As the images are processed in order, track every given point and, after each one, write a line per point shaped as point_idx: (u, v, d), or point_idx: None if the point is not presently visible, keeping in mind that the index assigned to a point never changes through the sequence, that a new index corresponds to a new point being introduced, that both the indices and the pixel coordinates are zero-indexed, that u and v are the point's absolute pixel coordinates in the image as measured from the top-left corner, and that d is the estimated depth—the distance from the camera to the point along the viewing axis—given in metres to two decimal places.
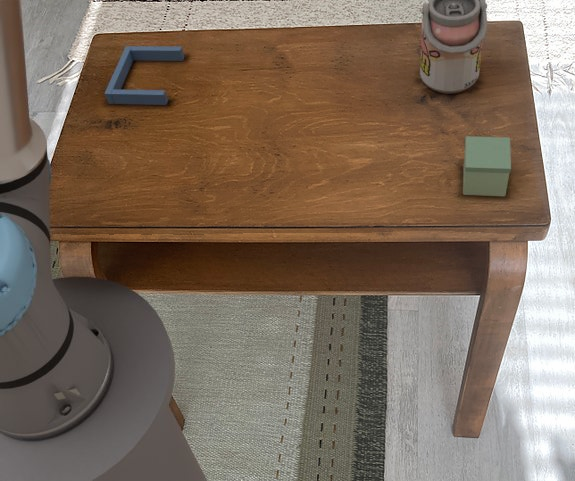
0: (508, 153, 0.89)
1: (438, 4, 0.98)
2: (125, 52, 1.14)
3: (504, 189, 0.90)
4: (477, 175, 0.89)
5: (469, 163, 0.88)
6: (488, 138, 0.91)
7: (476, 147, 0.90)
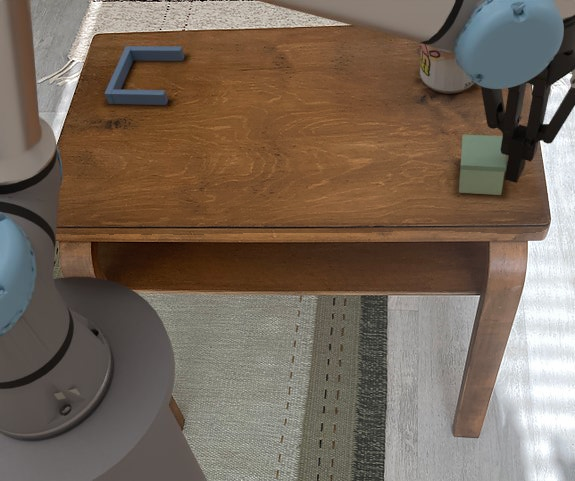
0: None
1: None
2: (125, 52, 1.14)
3: (500, 188, 0.90)
4: (472, 173, 0.89)
5: (465, 161, 0.89)
6: (485, 136, 0.91)
7: (472, 145, 0.90)
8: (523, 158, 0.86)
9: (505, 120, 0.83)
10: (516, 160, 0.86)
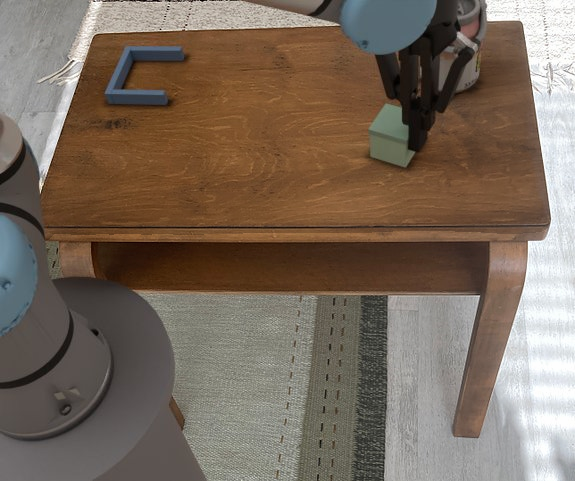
0: None
1: None
2: (125, 52, 1.14)
3: (404, 160, 0.95)
4: (379, 139, 0.94)
5: (373, 126, 0.94)
6: None
7: (388, 114, 0.95)
8: (422, 128, 0.91)
9: (401, 91, 0.87)
10: (415, 130, 0.91)
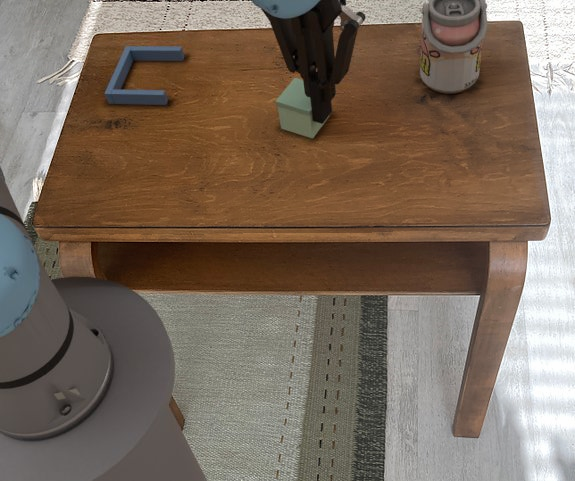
0: None
1: (438, 4, 0.98)
2: (125, 52, 1.14)
3: (310, 131, 1.00)
4: (286, 111, 1.00)
5: (280, 99, 0.99)
6: None
7: (296, 88, 1.00)
8: (323, 100, 0.96)
9: (300, 64, 0.92)
10: (317, 101, 0.96)
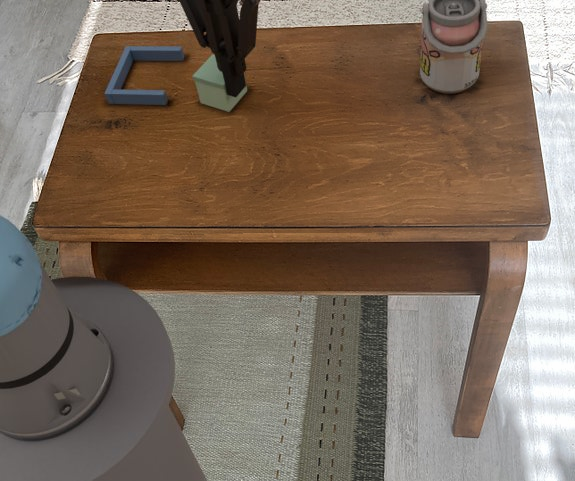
0: None
1: (438, 4, 0.98)
2: (125, 52, 1.14)
3: (226, 104, 1.05)
4: (203, 86, 1.05)
5: (197, 74, 1.04)
6: None
7: (212, 64, 1.05)
8: (235, 74, 1.01)
9: (209, 39, 0.97)
10: (228, 76, 1.01)
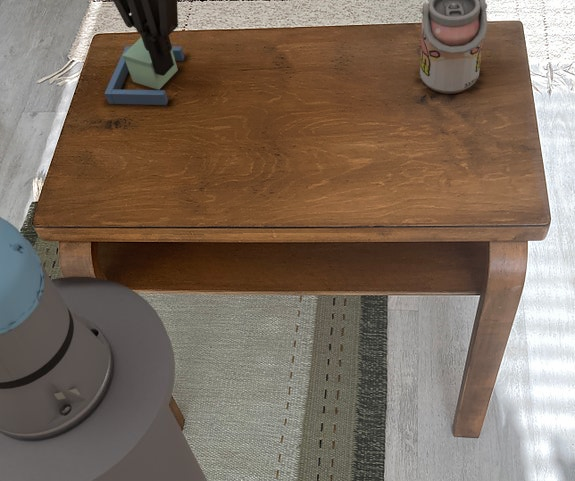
0: None
1: (438, 4, 0.98)
2: None
3: (155, 83, 1.10)
4: (133, 64, 1.09)
5: (127, 53, 1.09)
6: None
7: (142, 43, 1.10)
8: (160, 53, 1.06)
9: (133, 19, 1.02)
10: (154, 54, 1.05)
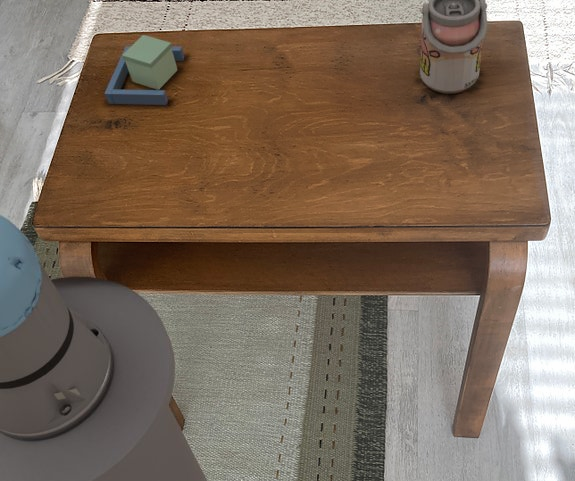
0: (159, 53, 1.08)
1: (438, 4, 0.98)
2: None
3: (155, 83, 1.10)
4: (132, 64, 1.09)
5: (127, 53, 1.09)
6: (156, 39, 1.10)
7: (142, 43, 1.10)
8: None
9: None
10: None
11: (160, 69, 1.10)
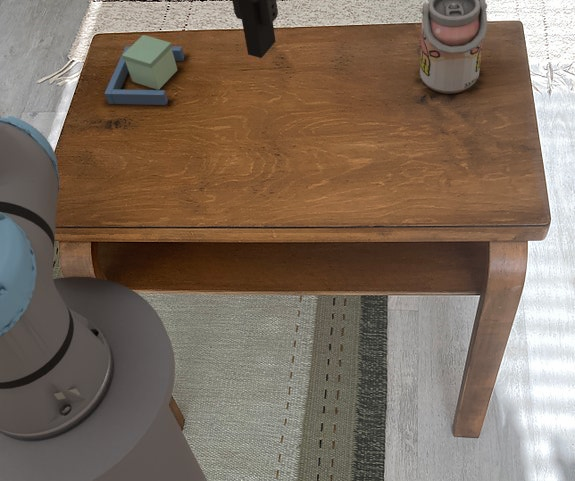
0: (159, 53, 1.08)
1: (438, 4, 0.98)
2: None
3: (155, 83, 1.10)
4: (132, 64, 1.09)
5: (127, 53, 1.09)
6: (156, 39, 1.10)
7: (142, 43, 1.10)
8: (261, 22, 0.68)
9: None
10: (251, 24, 0.68)
11: (160, 69, 1.10)
